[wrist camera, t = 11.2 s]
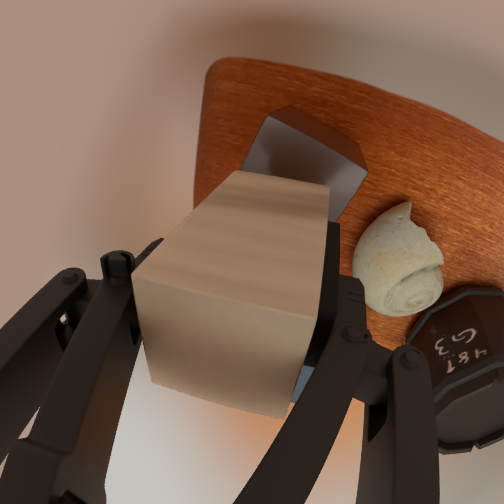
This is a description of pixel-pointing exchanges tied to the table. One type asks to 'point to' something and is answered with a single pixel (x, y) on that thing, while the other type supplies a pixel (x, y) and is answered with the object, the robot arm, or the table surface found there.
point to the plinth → (308, 156)
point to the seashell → (398, 264)
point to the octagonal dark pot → (465, 365)
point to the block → (236, 293)
